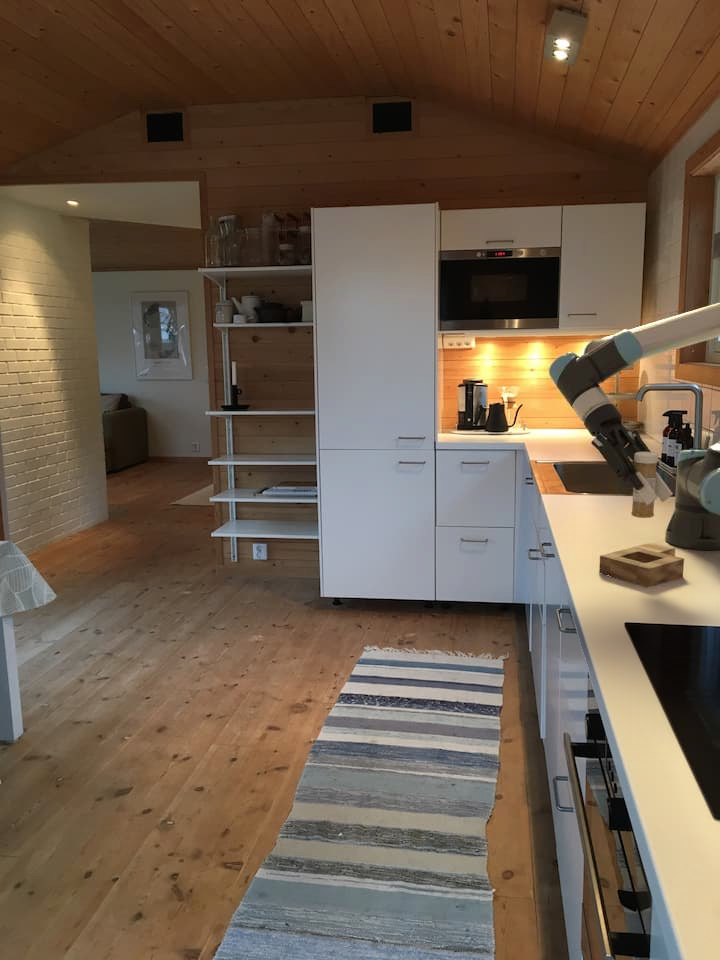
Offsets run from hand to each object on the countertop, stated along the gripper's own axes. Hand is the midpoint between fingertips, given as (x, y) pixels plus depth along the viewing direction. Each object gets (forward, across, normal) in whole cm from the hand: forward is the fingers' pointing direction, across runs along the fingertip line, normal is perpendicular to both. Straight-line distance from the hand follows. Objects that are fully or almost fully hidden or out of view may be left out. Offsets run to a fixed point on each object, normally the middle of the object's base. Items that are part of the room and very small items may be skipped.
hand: (659, 499), depth 157 cm
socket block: (+10, 0, -15) cm, 17 cm away
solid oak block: (+7, -9, -17) cm, 20 cm away
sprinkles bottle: (0, 0, -6) cm, 6 cm away
